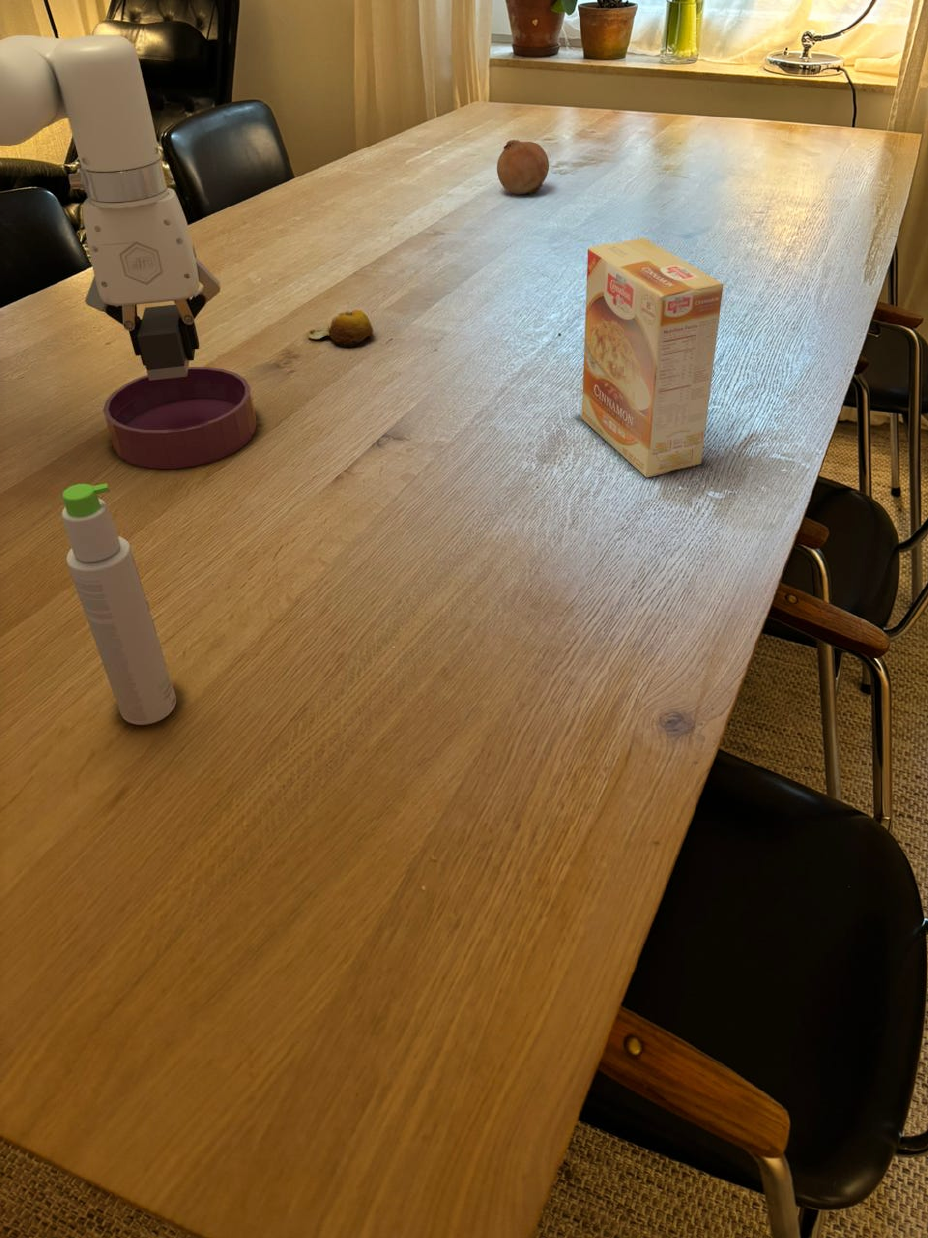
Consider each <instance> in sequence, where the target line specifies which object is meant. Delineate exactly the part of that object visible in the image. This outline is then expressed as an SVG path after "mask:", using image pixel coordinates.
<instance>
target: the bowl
mask: <svg viewBox="0 0 928 1238" xmlns="http://www.w3.org/2000/svg"><path fill="white" fill-rule="evenodd" d="M102 411H103V415H104V418H105V421H106V426H107V428H108V432H109V435H110V439H111V442H112V445H113V448H114V451H115V452H116V454H117V455H118V457H119V458H121V459H122V460H123V461H125V462H127V463H129V464H131V465H134V466H137V467H141V468H146V469H152V470H153V469H154V470H177V469H178V470H179V469H187V468H192V467H197V466H202V465H207V464H210V463H212V462H215V461H219V460H222V459H224V458H226V457H228V456H230V455H232V454H234V453H236V452H237V451H239V450H240V449H242V448H243V447H244V446H245V445H247V444H248V443H249V442H250V441H251V440H252V439H253V437H254V435H255V433H256V432H257V416H256V410H255V405H254V400H253V394H252V388H251V386H250V384H249V382H248V381H247V379H246V378H244V377H243V376H241V375H240V374H239V373H236V372H234V371H231V370H228V369H224V368H218V367H211V366H188V373H187V377H179V378H170V379H160V380H151V381H149V378H148V374H146V375H143V376H140V377H138V378H135V379H133V380H132V381H128V382H127V383H125V384H123V385H121V386H120V387H119V388H117V389H116V390H115V391H113V392H112V393H111V394H110V395H109V397H108V398H107V399H106V400H105V401H104V405H103V410H102Z"/></svg>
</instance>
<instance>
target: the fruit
mask: <svg viewBox="0 0 928 1238" xmlns="http://www.w3.org/2000/svg"><path fill="white" fill-rule="evenodd" d="M373 333H374V328H373V326H372V324H371V321H370V319H369V317H368V315H366V313H365V312H364V311H362V310H361V309H354V310H351V311H349V310H348V311H345V312H341V313H338V314H337V315H336V316H335V317H334V318H333V319H332V321H331V323H330V325H328V326H327V327H324V329H323V330H321V331H316V330H315V329H312V330H310V331H308V333H307V338H309V339H312V340H320V339H321V338H323V337H326V336H329V337H330V339H331V340H332V341H333V343H335V344H337V345H339V346H340V347H343V348H351V347H354V346H356V345H358V344H359V343H360V342H364V340H365V339H366V338H367V337H369V338H372V335H373Z"/></svg>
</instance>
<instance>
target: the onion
mask: <svg viewBox="0 0 928 1238" xmlns="http://www.w3.org/2000/svg"><path fill="white" fill-rule="evenodd" d="M505 144H506V145H504V147H503V150H502V152H501V153H500V155H499V156H498V158H497V161H496V173H497V178H498V181H499V183H500V184H501V186H502V188H503V189H504V190H505V191H506V192H509V193H510V194H512V195H528V196H530V195H533V194H536V193H537V192H538V191H539V190H540V189H541V188H542V187H543V186H544V184H543V183H544V182H545V180H546V179H547V177H548V174H549V171H550V161H549V157H548V154H547V152H546V151H545V149H544V148H543V147H542V146H541V145H540V144H539V143H537V142H533V141H520V140H519V139H510V140H509V141H507V142H506V143H505Z"/></svg>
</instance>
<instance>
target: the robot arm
mask: <svg viewBox="0 0 928 1238" xmlns="http://www.w3.org/2000/svg"><path fill="white" fill-rule="evenodd" d="M65 119H67V120H68V123H69V127H70V130H71V131H70V132H71V134H72V138H73V142H74V146H75V149H76V152H77V156H78V161H79V164H80V166H81V167H80V170H79V171H76V172H75V173H70V174H69V173H68V182H69V185H70V188H71V189H72V190H78V189H79V190H81V191H84V193H86V196H87V198H86V199H85V200H84V202H83V203H82V214H83V215H82V216H83V223H84V224H83V225H84V232H85V237H86V243H87V248H88V254H89V257H90V262H91V267H92V272H93V278H92V280H91V283H90V286H89V289H88V291H87V294H86V296H85V300H84V302H85V304H86V305H87V306H89V307H90V308H93V309H95V310H97V311H99V312H103V313H106V315H107V316H108V317H110V318H112V319H113V320H115V321H116V322H117V323H119V324H121V325H122V326H123V328H124V329H125V330H126V331H128V334H129V338H130V341H131V344H132V345H131V346H132V348H133V352H134V355H135V356H136V357H137V356H140V359H141V363H142V365H143V366H144V367H146V366H145V363H144V359H143V355H142V351H141V348H140V344H139V340H138V333H139V329H140V325H141V321H142V319H141V317H140V316H139V314H138V305H146V304H156V303H166V302H174V303H173V304H174V305H176V307H177V309H178V312H179V314H180V326H179V328H180V333H181V337H182V341H183V345H184V349H185V354H186V358H187V360H189V362H190V361H194V360H195V354H196V350H200V341H199V335H198V330H197V326H196V323H195V319H196V318H197V317H198V315H199V314H200V313H201V311H202V310H203V308H204V307H205V306H206V304H207V303H208V302H210V301H211V300H212V299H213V298H215V297H216V296H217V295H218V294H220V292H221V289H222V288H221V286H222V284H221V282H220V280H218V279H217V277H215V275H213V273H212V272H211V271H210V270H209V269H208V268H207V267H206V266H205V265H204V263H202V262H201V260H199V258H198V256H197V253H196V248H195V245H194V241H193V239H192V235H191V231H190V227H189V224H188V221H187V218H186V216H185V212H184V210H183V208H182V205H181V203H180V200H179V198H178V196H177V195H178V194H177V193H176V191H175V189H173V188H171V187H168V184H167V179H166V175H165V171H164V166H163V162H162V161H163V160H162V158H161V153H160V149H159V144H158V140H157V135H156V130H155V126H154V122H153V116H152V112H151V108H150V104H149V99H148V93H147V90H146V85H145V81H144V77H143V72H142V68H141V63H140V59H139V56H138V52H137V50H136V48H135V45H133V43H132V42H131V41H130V40H129V39H127V38H126V37H125V36H121V35H117V34H90V35H83V36H76V37H73V38H61V37H59V38H58V37H49V36H40V35H32V34H17V35H15V34H14V35H11V36H7V37H5V38H2V39H0V147H14V146H19V145H22V144H24V143H25V142H27V141H29V140H30V139H31V138H33V137H34V136H36V135H38V134H39V133H40V132H41V131H42V130H43V129H46V128H47V127H49V126H52V125H53V124H55V123H57V122H59V121H61V120H65ZM200 284H201V285H202V287H201V288H200Z"/></svg>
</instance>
